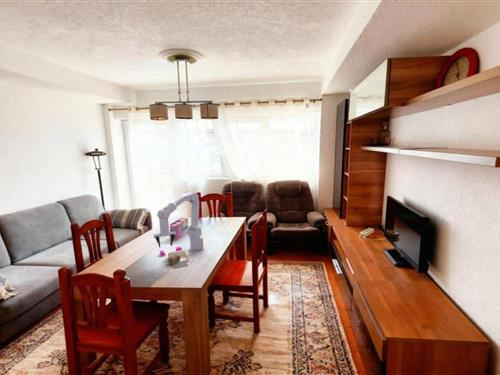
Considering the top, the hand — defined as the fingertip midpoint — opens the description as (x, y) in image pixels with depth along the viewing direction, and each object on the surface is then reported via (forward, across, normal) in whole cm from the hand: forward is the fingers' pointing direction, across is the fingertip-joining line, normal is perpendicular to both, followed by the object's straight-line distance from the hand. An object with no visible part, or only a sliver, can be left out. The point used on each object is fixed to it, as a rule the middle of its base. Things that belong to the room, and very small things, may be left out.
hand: (165, 246), depth 184 cm
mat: (+10, -8, +11) cm, 17 cm away
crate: (+10, -7, +2) cm, 13 cm away
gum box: (+11, -16, -51) cm, 54 cm away
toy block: (+15, -4, -14) cm, 22 cm away
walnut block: (+8, -7, +4) cm, 11 cm away
